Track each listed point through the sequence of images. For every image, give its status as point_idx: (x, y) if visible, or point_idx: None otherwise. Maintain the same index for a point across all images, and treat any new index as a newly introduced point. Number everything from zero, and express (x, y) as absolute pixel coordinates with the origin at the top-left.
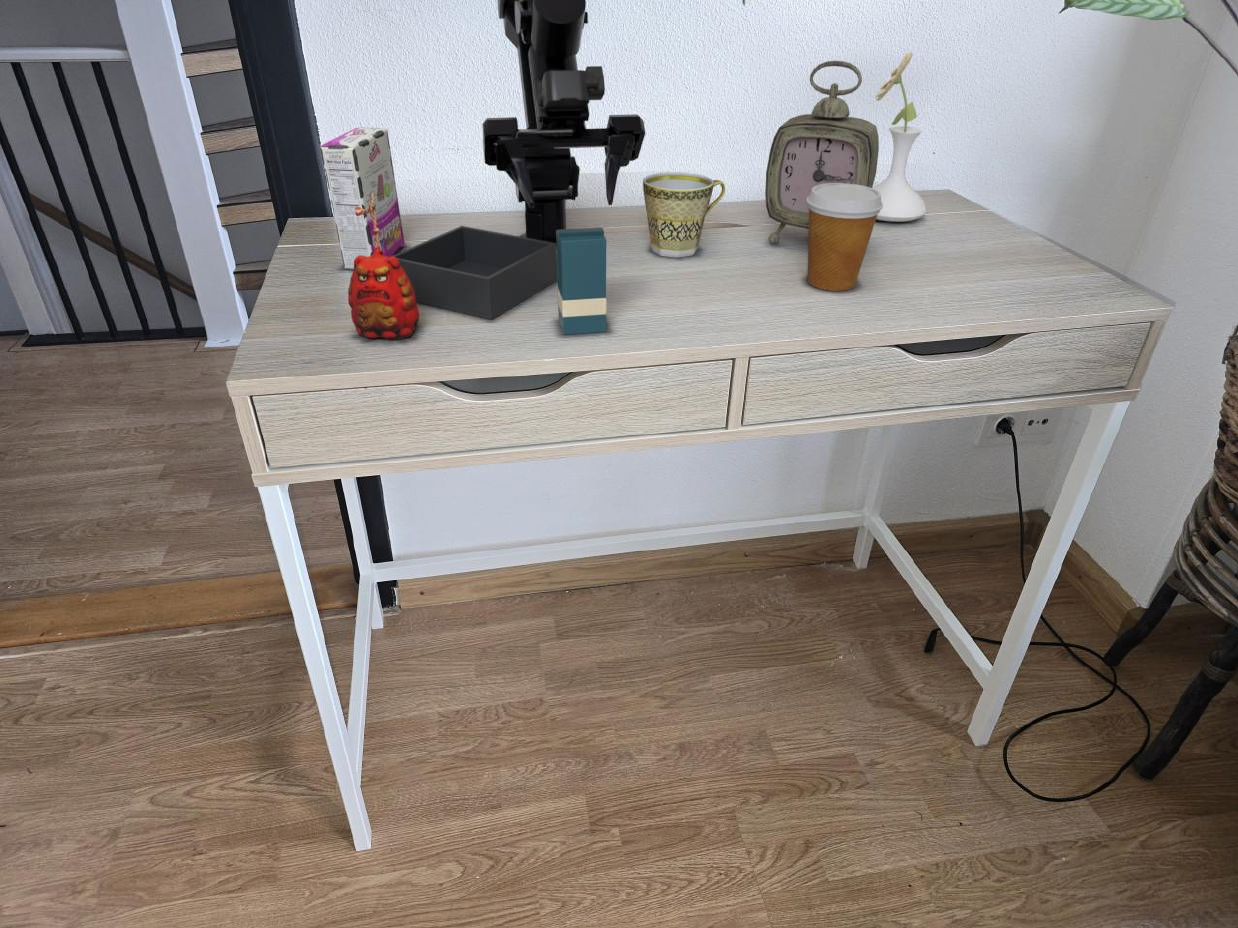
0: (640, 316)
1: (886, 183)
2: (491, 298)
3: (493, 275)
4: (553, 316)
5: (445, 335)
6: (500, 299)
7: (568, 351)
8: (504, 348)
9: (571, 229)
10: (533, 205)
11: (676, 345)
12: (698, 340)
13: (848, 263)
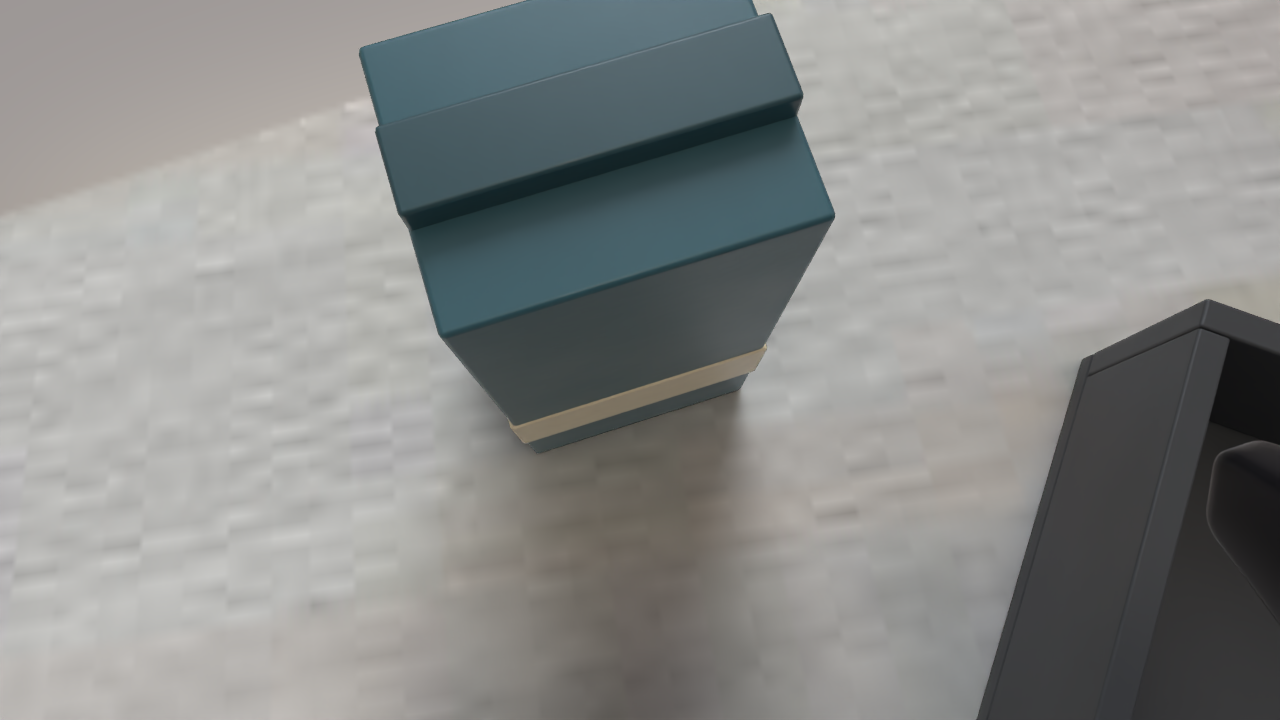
0: (322, 520)
1: None
2: (1135, 341)
3: (1202, 364)
4: (783, 455)
5: (1230, 163)
6: (1096, 425)
7: None
8: (920, 71)
9: (678, 112)
10: (1217, 459)
11: (149, 199)
12: (39, 265)
13: None
